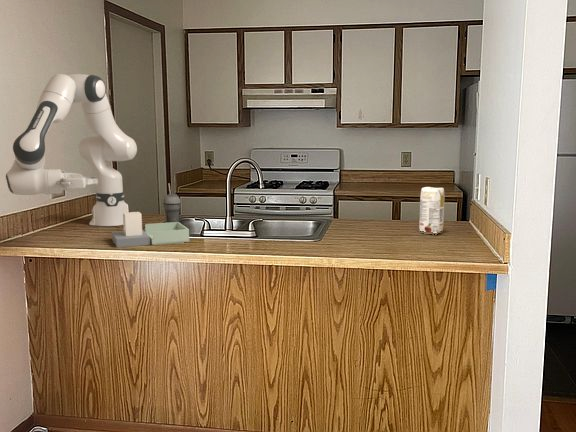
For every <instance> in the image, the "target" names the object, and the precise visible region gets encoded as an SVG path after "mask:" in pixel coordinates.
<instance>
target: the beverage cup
mask: <svg viewBox="0 0 576 432" xmlns="http://www.w3.org/2000/svg"><path fill="white" fill-rule="evenodd" d="M168 192H169V194H168V193H167V195H166V196H165V197H164V199H163V204H162V205H163V207H164V214H165V221H166V222H165V223H170V222H179V223H180V208H181V204H182V203H181V199H180V197H179V195H177V194H176V193H171V185H170V183H168Z"/></svg>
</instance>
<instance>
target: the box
mask: <svg viewBox="0 0 576 432" xmlns="http://www.w3.org/2000/svg"><path fill="white" fill-rule="evenodd" d="M144 229H145V230H144V231H145V232H146V233H147V234H148V235H149V236H150V245H152V246H157V245H158V246H159V245H170V244H171V245H172V244H174V245H175V244H183V243H184V242H187V243H190V229H189V228H188V227H187V226H185V225H183V224H182V223H181V222H180V221H179V222H170V223H166V222H160V223H159V222H158V223H144Z"/></svg>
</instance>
